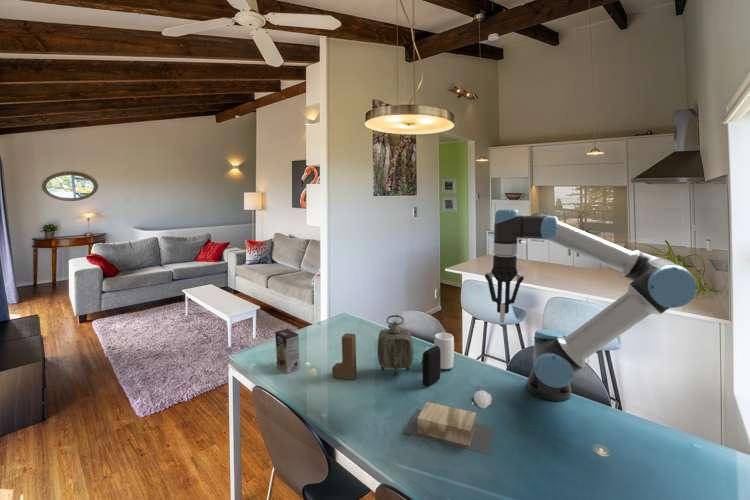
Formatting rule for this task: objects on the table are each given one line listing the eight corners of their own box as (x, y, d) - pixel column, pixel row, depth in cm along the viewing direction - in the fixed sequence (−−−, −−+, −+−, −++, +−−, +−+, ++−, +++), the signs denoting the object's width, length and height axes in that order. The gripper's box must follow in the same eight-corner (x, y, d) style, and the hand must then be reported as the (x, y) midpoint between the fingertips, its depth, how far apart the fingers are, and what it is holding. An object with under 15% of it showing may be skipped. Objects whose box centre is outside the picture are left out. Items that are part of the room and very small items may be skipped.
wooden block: (332, 377, 157) (330, 335, 154) (336, 372, 161) (335, 331, 159) (352, 380, 155) (351, 338, 152) (356, 375, 159) (355, 333, 156)
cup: (456, 366, 166) (457, 334, 164) (449, 374, 159) (449, 341, 157) (438, 361, 171) (438, 331, 169) (430, 369, 164) (430, 337, 162)
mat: (495, 429, 122) (495, 427, 122) (488, 456, 110) (488, 454, 110) (416, 410, 133) (416, 408, 133) (402, 433, 121) (402, 431, 120)
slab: (476, 412, 122) (427, 401, 128) (469, 430, 113) (417, 417, 119) (475, 427, 122) (427, 415, 129) (469, 446, 113) (417, 432, 120)
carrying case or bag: (425, 390, 146) (425, 353, 144) (418, 387, 148) (419, 351, 146) (441, 380, 154) (442, 345, 151) (435, 378, 156) (436, 343, 154)
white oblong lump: (474, 392, 145) (474, 378, 144) (491, 394, 143) (491, 380, 143) (473, 409, 134) (473, 394, 133) (491, 412, 132) (492, 396, 131)
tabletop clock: (412, 368, 165) (412, 312, 161) (413, 378, 156) (413, 319, 152) (378, 368, 165) (377, 312, 161) (377, 378, 156) (377, 319, 152)
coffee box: (276, 367, 167) (274, 331, 165) (289, 362, 172) (287, 328, 169) (287, 374, 161) (285, 337, 158) (300, 369, 165) (298, 333, 162)
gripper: (526, 254, 132) (523, 320, 135) (487, 252, 137) (485, 316, 141) (524, 258, 125) (521, 327, 129) (483, 255, 130) (481, 322, 134)
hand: (502, 321), depth 135 cm, fingers closed
